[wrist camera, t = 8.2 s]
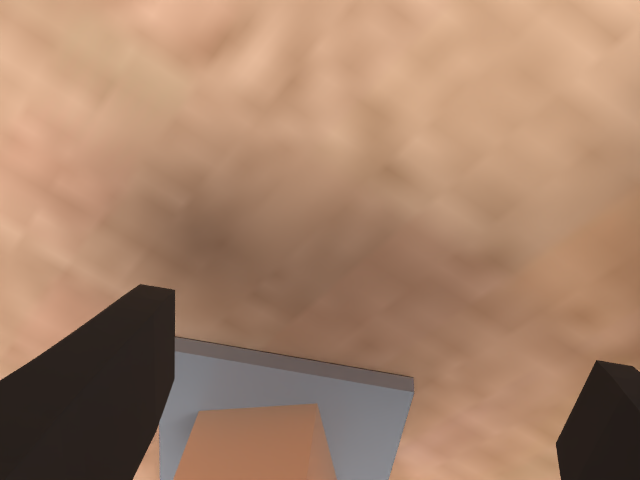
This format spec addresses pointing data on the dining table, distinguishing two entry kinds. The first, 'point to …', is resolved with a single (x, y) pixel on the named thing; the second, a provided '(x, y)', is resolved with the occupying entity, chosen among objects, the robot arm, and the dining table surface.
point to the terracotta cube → (257, 445)
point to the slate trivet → (289, 402)
